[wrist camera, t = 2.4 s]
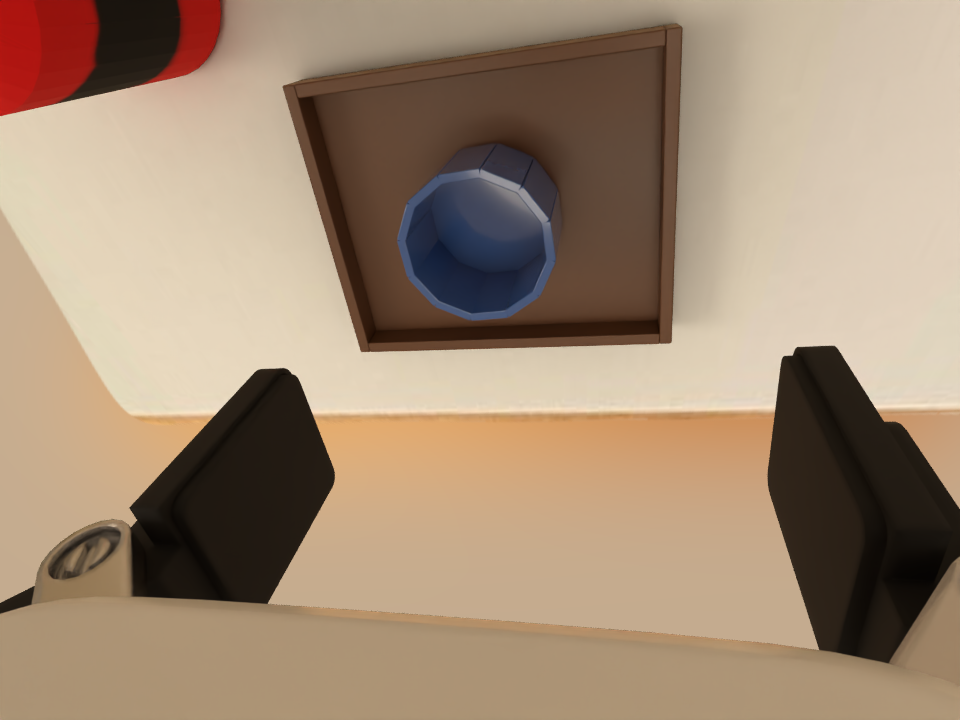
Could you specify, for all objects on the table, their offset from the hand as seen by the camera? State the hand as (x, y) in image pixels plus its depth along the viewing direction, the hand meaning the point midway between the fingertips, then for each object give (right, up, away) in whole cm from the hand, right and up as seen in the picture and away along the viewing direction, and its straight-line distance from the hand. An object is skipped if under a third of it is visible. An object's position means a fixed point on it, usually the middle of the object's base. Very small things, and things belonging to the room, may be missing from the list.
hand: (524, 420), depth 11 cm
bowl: (0, +9, +18) cm, 20 cm away
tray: (0, +9, +18) cm, 20 cm away
